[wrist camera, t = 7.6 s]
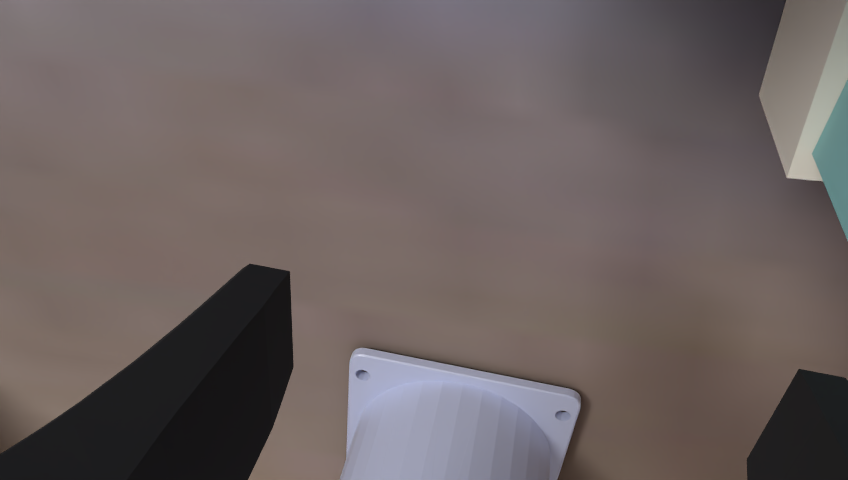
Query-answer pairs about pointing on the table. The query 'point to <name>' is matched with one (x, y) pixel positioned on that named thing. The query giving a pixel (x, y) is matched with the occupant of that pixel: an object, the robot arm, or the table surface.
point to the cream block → (805, 79)
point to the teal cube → (835, 158)
